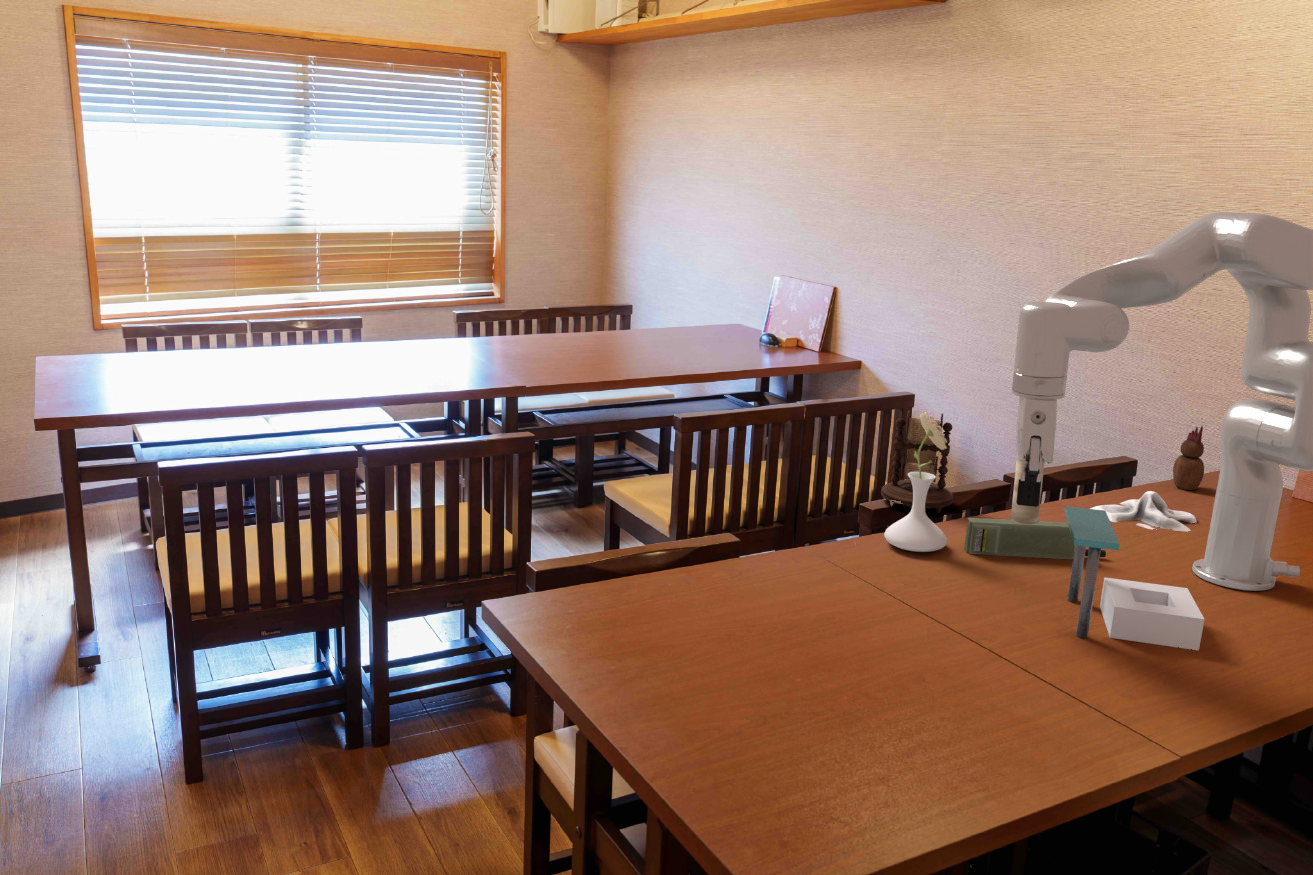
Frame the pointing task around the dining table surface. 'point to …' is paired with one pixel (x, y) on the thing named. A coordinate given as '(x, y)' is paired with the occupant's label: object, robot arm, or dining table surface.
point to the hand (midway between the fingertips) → (1026, 499)
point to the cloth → (1148, 513)
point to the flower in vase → (920, 504)
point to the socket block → (1151, 613)
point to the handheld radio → (1020, 539)
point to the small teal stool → (1095, 534)
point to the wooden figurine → (1190, 462)
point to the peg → (1018, 511)
